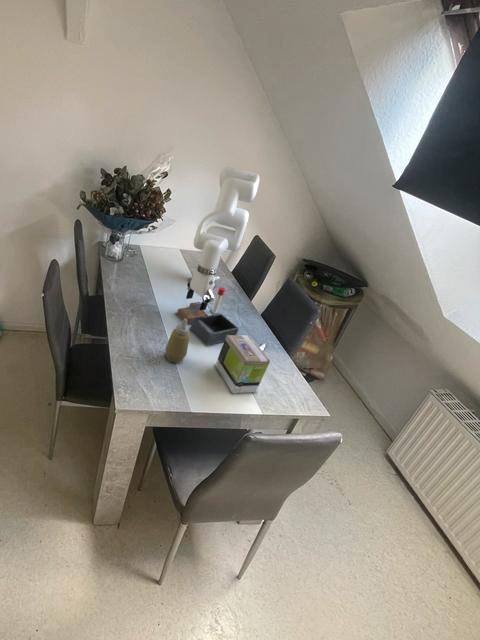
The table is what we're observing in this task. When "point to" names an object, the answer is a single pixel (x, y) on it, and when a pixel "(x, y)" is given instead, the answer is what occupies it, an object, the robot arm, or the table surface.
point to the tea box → (241, 363)
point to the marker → (218, 300)
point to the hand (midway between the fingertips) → (195, 303)
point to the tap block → (190, 314)
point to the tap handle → (194, 307)
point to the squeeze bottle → (178, 343)
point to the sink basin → (213, 328)
